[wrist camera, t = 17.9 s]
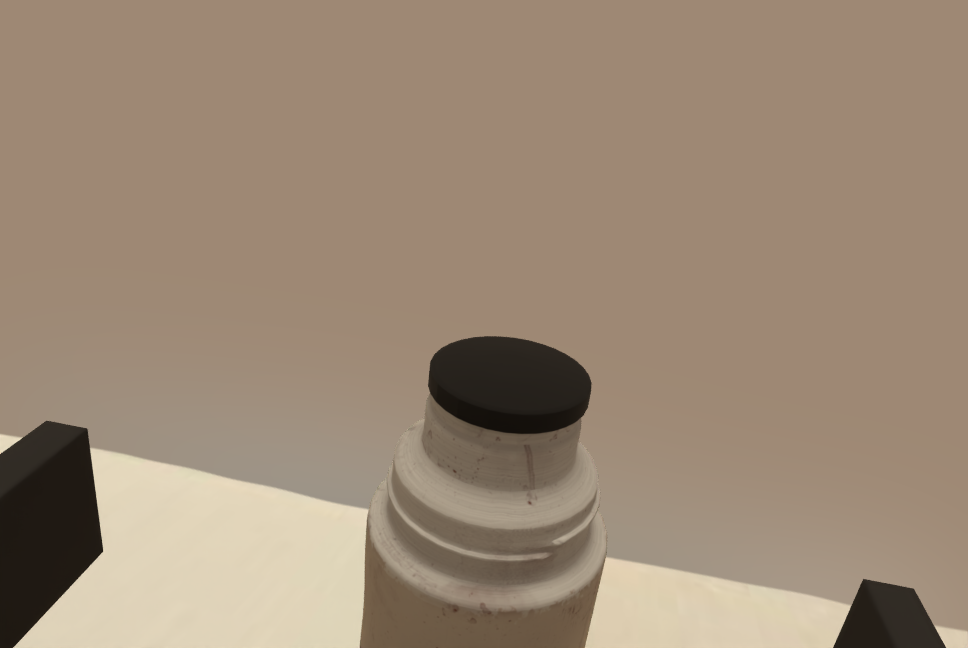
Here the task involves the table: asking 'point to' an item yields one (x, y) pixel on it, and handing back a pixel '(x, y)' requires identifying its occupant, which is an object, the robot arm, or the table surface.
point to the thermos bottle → (488, 508)
